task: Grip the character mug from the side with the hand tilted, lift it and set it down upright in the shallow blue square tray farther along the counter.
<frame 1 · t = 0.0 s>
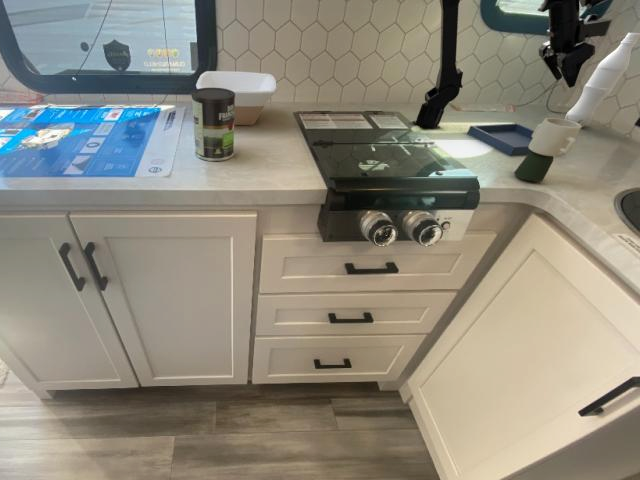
hand: (565, 83, 96), 15 cm above the table, tool tilted 35°, fingers open, 9 cm apart
water bottle: (573, 125, 118), on the table
coffee can: (214, 154, 90), on the table
shallow blue square tray: (511, 142, 103), on the table
bowl: (236, 119, 111), on the table
character mug: (526, 179, 85), on the table
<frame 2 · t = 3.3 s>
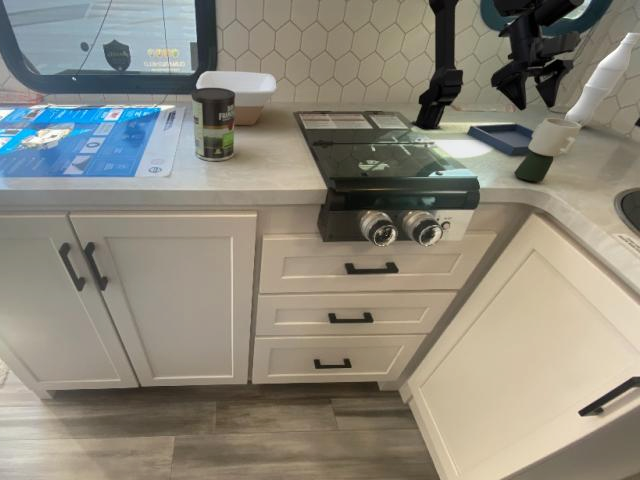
hand: (537, 108, 82), 14 cm above the table, tool tilted 45°, fingers open, 9 cm apart
nothing on the table moved.
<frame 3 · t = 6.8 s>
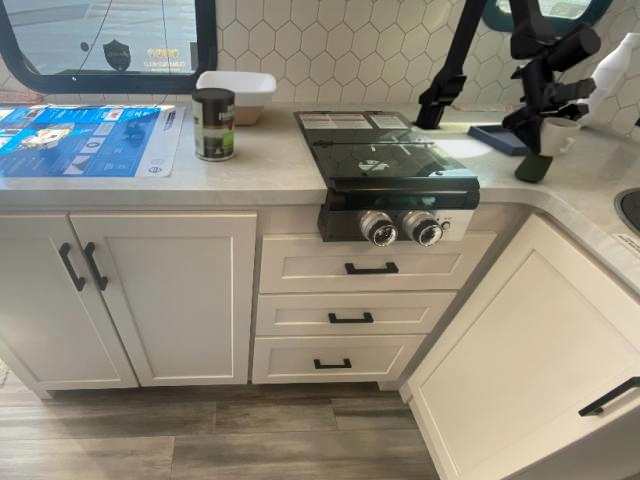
hand: (550, 152, 79), 7 cm above the table, tool tilted 45°, fingers closed on character mug, 7 cm apart
character mug: (526, 179, 85), on the table, touching gripper
everything else where it was.
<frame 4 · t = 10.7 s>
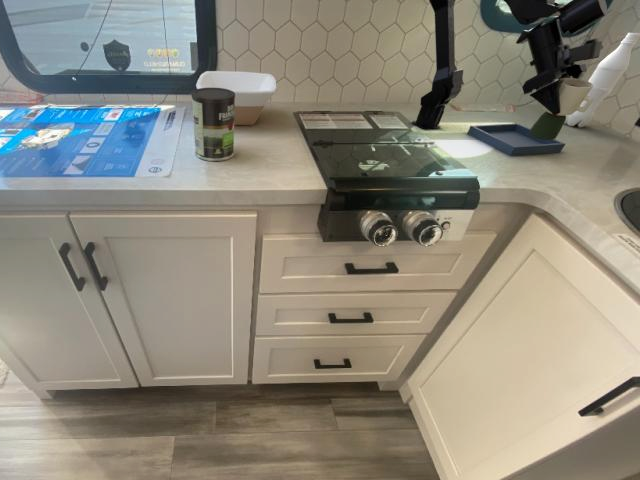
hand: (563, 112, 85), 12 cm above the table, tool tilted 45°, fingers closed on character mug, 7 cm apart
character mug: (539, 138, 92), point 5 cm above the table, touching gripper
everything else where it was.
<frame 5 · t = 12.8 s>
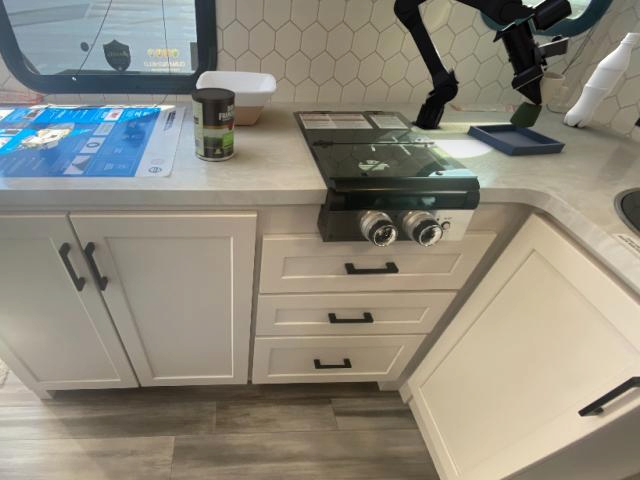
hand: (540, 101, 95), 11 cm above the table, tool tilted 45°, fingers closed on character mug, 7 cm apart
character mug: (519, 126, 101), point 4 cm above the table, touching gripper
everything else where it was.
when the fingers open (8 cm above the table, at t = 14.7 s): character mug stays where it is, resting on shallow blue square tray.
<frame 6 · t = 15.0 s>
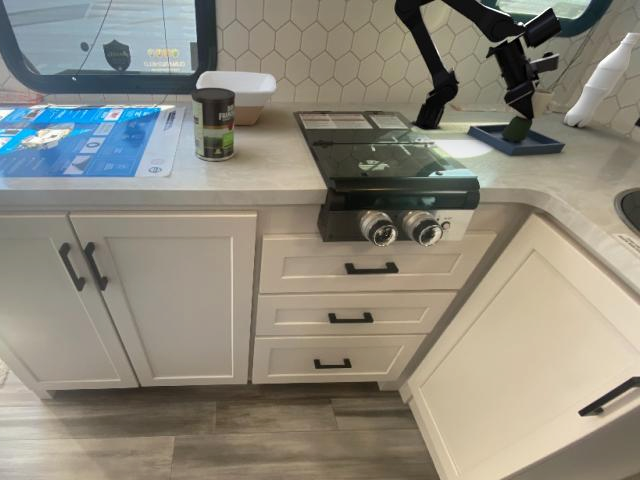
hand: (533, 114, 97), 8 cm above the table, tool tilted 45°, fingers open, 9 cm apart
character mug: (511, 140, 104), resting on shallow blue square tray
everything else where it was.
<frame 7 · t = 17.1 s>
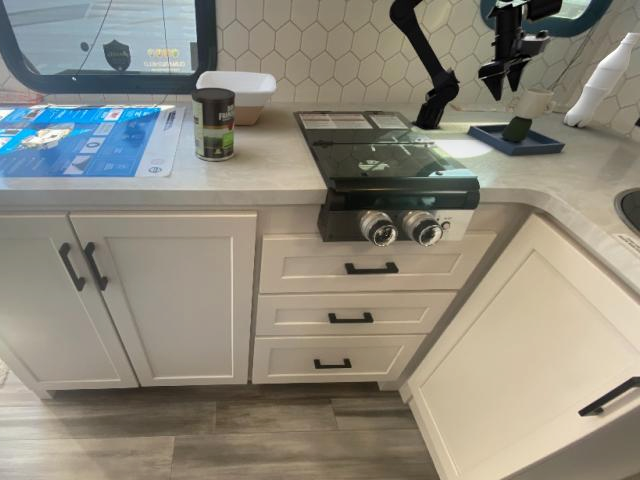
hand: (506, 96, 99), 11 cm above the table, tool tilted 25°, fingers open, 9 cm apart
nothing on the table moved.
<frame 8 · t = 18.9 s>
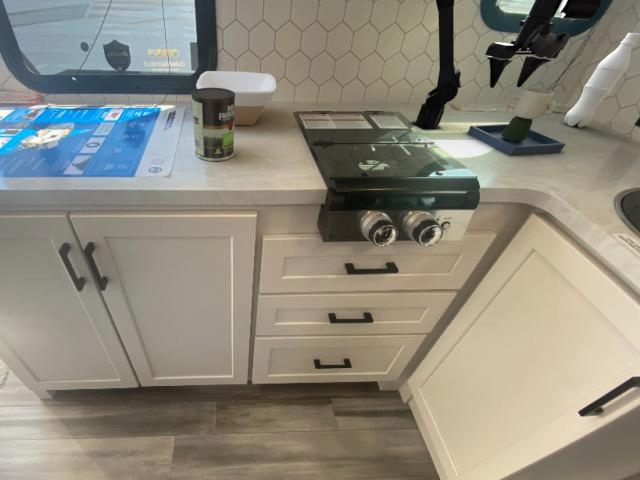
hand: (505, 87, 98), 13 cm above the table, tool pointing down, fingers open, 9 cm apart
nothing on the table moved.
at the end: character mug inside the target area in the shallow blue square tray (0.7 cm from its centre), point 0.3 cm above the shallow blue square tray's base; character mug tilted 0°; the gripper is holding nothing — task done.
